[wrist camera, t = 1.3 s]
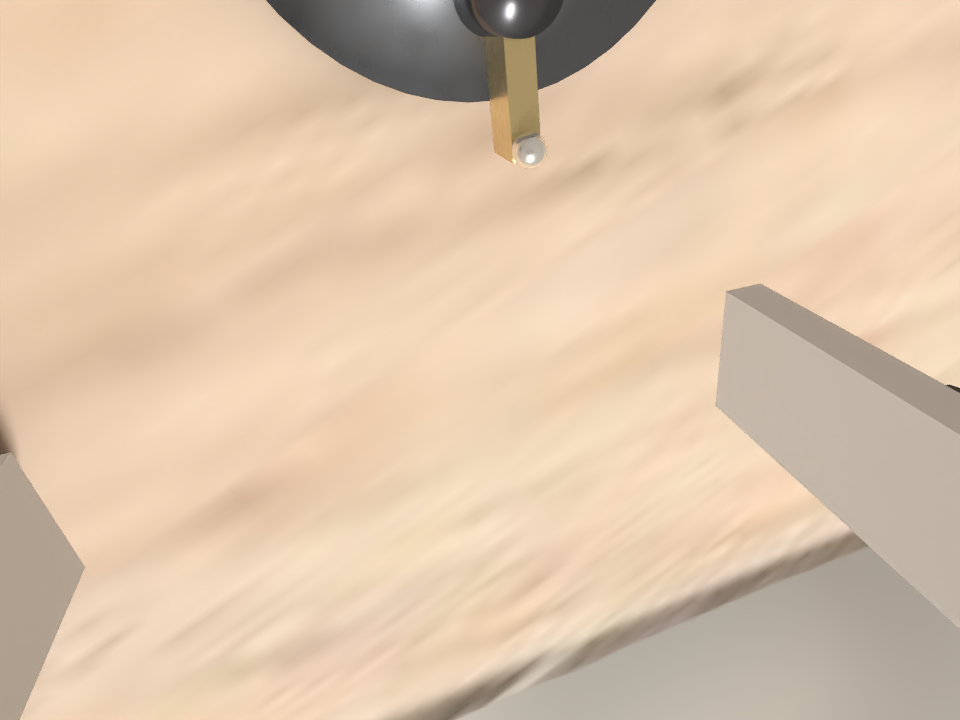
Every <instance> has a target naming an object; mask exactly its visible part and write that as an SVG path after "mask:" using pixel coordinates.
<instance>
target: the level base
mask: <svg viewBox="0 0 960 720" xmlns="http://www.w3.org/2000/svg"><path fill="white" fill-rule="evenodd" d="M266 1H267V2H268V3H269V4H270V5H271V6H272V7H273V8H274V10H275V11H276V12H277V13H278V14H279V15H280V16H281V17H282V18H283V19H284V20H285V21H287V22H288V23H289V24H290V25H291V26H292V27H293V28H294V29H296V30H297V31H298V32H299V33H300V34H301V35H302V36H303V37H305V38H306V39H307V40H308V41H309V42H310V43H311V44H313V45H314V46H316V47H317V48H319V49H320V50H322V51H323V52H324V53H326V54H327V55H329V56H330V57H332V58H333V59H334V60H336V61H337V62H339V63H340V64H342V65H343V66H345V67H347V68H349V69H351V70H353V71H355V72H357V73H359V74H360V75H362V76H364V77H366V78H368V79H370V80H372V81H374V82H376V83H379V84H382V85H385V86H387V87H390V88H393V89H395V90H398V91H401V92H404V93H407V94H411V95H416V96H421V97H425V98H430V99H435V100H443V101H457V102H479V101H490V96H489V85H488V74H487V64H486V53H485V42H484V37H480V36H478V35H476V34H474V33H472V32H471V31H470V30H468V29H467V28H466V27H465V26H464V24H463V23H462V22H461V20H460V18H459V17H458V15H457V12H456V10H455V6H454V2H453V0H266ZM655 1H656V0H563V3H562V6H561V9H560V11H559V13H558V15H557V17H556V18H555V20H554V21H553V22H552V24H551V25H550V26H549V27H548V28H547V29H546V30H544V31H543V32H541V33H540V34H538V35H536V36H535V49H536V68H537V86H538V90H539V89H542V88H544V87H547V86H549V85H552V84H555V83H557V82H559V81H561V80H563V79H565V78H566V77H568V76H570V75H572V74H574V73H576V72H577V71H579V70H581V69H583V68H585V67H586V66H587V65H589V64H590V63H591V62H593V61H594V60H596V59H597V58H598V57H600V56H601V55H602V54H604V53H605V52H606V51H608V50H609V49H611V48H612V47H613V46H614V45H615V44H616V43H617V42H618V41H619V40H620V39H621V38H622V37H623V36H624V35H625V34H626V33H627V32H629V31H630V30H631V29H632V28H633V27H634V26H635V25H636V24H637V22H638V21H639V20H640V19H641V18H642V16H643V15H644V14H645V13H646V12H647V10H648V9H649V8H650V7H651V6H652V4H653V3H654V2H655Z"/></svg>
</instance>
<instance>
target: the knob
mask: <svg viewBox="0 0 960 720" xmlns="http://www.w3.org/2000/svg"><path fill="white" fill-rule="evenodd" d="M453 2H454V6H455V10H456V12H457V15H458V17H459V18H460V20H461V22H462V23H463V24H464V26H465V27H466V28H467V29H468V30H470V31H471V32H472V33H474V34H476V35H478V36H480V37H484V42H485V53H486V64H487V74H488V85H489V96H490V107H491V118H492V129H493V140H494V151H495V153H497V154H498V155H500V156H502V157H503V158H505V159H506V160H508V161H510V162H511V163H513V164H515V163H517V164H518V165H519V166H521V167H523V168H526V169H532V168H536V167H538V166H539V165H541V164H542V163H543V162H544V160H545V158H546V156H547V151H548V148H547V143H546V141H545V139H544V138H543V136H542V135H540V123H539V104H538V86H537V68H536V49H535V36H536V35H538V34H540V33H541V32H543V31H544V30H546V29H547V28H548V27H549V26H550V25H551V24H552V22H553V21H554V20H555V18H556V17H557V15H558V13H559V11H560V9H561V6H562V3H563V0H453Z"/></svg>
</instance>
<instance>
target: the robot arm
mask: <svg viewBox="0 0 960 720" xmlns="http://www.w3.org/2000/svg"><path fill="white" fill-rule="evenodd" d="M716 407H718V408H719V409H720V410H721V411H722V412H723V413H724V414H725V415H726V416H727V417H728V418H730V419H731V420H732V421H733V422H734V423H735V424H736V425H737V426H738V427H739V428H741V429H742V430H743V431H744V432H745V433H746V434H747V435H748V436H749V437H750V438H751V439H753V440H754V441H755V442H756V443H757V444H758V445H759V446H760V447H761V448H762V449H763V450H765V451H766V452H767V453H768V454H769V455H770V456H771V457H772V458H773V459H774V460H776V461H777V462H778V463H779V464H780V465H781V466H782V467H783V468H784V469H785V470H786V471H788V472H789V473H790V474H791V475H792V476H793V477H794V478H795V479H796V480H797V481H799V482H800V483H801V484H802V485H803V486H804V487H805V488H806V489H807V490H808V491H809V492H811V493H812V494H813V495H814V496H815V497H816V498H817V499H818V500H819V501H820V502H822V503H823V504H824V505H825V506H826V507H827V508H828V509H829V510H830V511H831V512H832V513H834V514H835V515H836V516H837V517H838V518H839V519H840V520H841V521H842V522H843V523H845V524H846V525H847V526H848V527H849V528H850V529H851V530H852V531H853V532H854V533H855V534H857V535H858V536H859V537H860V538H861V539H862V540H863V541H864V542H865V543H866V544H868V545H869V546H870V547H871V548H872V549H873V550H874V551H875V552H876V553H877V554H878V555H880V556H881V557H882V558H883V559H884V560H885V561H886V562H887V563H888V564H890V565H891V566H892V567H893V568H894V569H895V570H896V571H897V572H898V573H899V574H900V575H902V576H903V577H904V578H905V579H906V580H907V581H908V582H909V583H910V584H911V585H912V586H914V587H915V588H916V589H917V590H918V591H919V592H920V593H921V594H922V595H923V596H925V597H926V598H927V599H928V600H929V601H930V602H931V603H932V604H933V605H934V606H935V607H937V608H938V609H939V610H940V611H941V612H942V613H943V614H944V615H945V616H946V617H947V618H949V619H950V620H951V621H952V622H953V623H954V624H955V625H956V626H957V627H958V628H960V388H958V387H955V386H952V385H944V384H942V383H940V382H939V381H937V380H935V379H933V378H931V377H930V376H928V375H926V374H924V373H922V372H920V371H919V370H917V369H915V368H913V367H911V366H910V365H908V364H906V363H904V362H902V361H900V360H899V359H897V358H895V357H893V356H891V355H889V354H888V353H886V352H884V351H882V350H880V349H879V348H877V347H875V346H873V345H871V344H869V343H868V342H866V341H864V340H862V339H860V338H859V337H857V336H855V335H853V334H851V333H849V332H848V331H846V330H844V329H842V328H840V327H838V326H837V325H835V324H833V323H831V322H829V321H828V320H826V319H824V318H822V317H820V316H818V315H817V314H815V313H813V312H811V311H809V310H808V309H806V308H804V307H802V306H800V305H798V304H797V303H795V302H793V301H791V300H789V299H787V298H786V297H784V296H782V295H780V294H778V293H777V292H775V291H773V290H771V289H769V288H767V287H766V286H764V285H762V284H757V285H752V286H748V287H743V288H739V289H734V290H730V291H726V297H725V308H724V319H723V330H722V341H721V352H720V363H719V374H718V385H717V395H716ZM84 568H85V566H84V565H83V563H82V562H81V560H80V559H79V557H78V556H77V554H76V552H75V551H74V549H73V548H72V546H71V545H70V543H69V542H68V540H67V538H66V537H65V535H64V534H63V532H62V531H61V529H60V528H59V526H58V525H57V523H56V521H55V520H54V518H53V517H52V515H51V514H50V512H49V511H48V509H47V507H46V506H45V504H44V503H43V501H42V500H41V498H40V497H39V495H38V494H37V492H36V490H35V489H34V487H33V486H32V484H31V483H30V481H29V480H28V478H27V476H26V475H25V473H24V472H23V470H22V469H21V467H20V466H19V464H18V463H17V461H16V459H15V458H14V456H13V455H12V453H11V452H10V453H5V454H1V455H0V720H19V719H20V717H21V715H22V712H23V710H24V708H25V705H26V703H27V701H28V698H29V696H30V694H31V691H32V689H33V687H34V684H35V682H36V680H37V677H38V675H39V673H40V671H41V668H42V666H43V664H44V661H45V659H46V657H47V654H48V652H49V650H50V647H51V645H52V643H53V640H54V638H55V636H56V633H57V631H58V629H59V626H60V624H61V622H62V619H63V617H64V615H65V612H66V610H67V608H68V605H69V603H70V601H71V598H72V596H73V594H74V591H75V589H76V587H77V585H78V582H79V580H80V578H81V575H82V573H83V571H84Z"/></svg>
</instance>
